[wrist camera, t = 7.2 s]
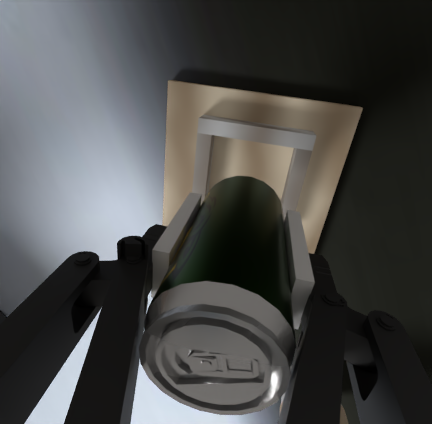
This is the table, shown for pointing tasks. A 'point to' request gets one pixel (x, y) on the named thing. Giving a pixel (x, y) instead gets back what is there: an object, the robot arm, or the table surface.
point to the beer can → (225, 306)
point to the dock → (256, 147)
